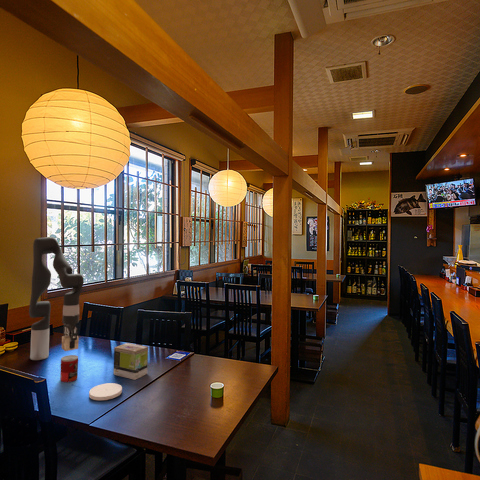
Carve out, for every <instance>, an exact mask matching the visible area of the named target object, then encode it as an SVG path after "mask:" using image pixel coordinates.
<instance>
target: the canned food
mask: <svg viewBox="0 0 480 480" xmlns="http://www.w3.org/2000/svg"><path fill="white" fill-rule="evenodd" d="M78 369H79V356H78V355H76V354H75V355H74V354H70V355H69V354H68V355H64V356H62V357H61V358H60V373H59V374H60V377H59V378H60V382H61V383H71V382H74V381H76V380H77V379H78V371H79V370H78Z"/></svg>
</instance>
